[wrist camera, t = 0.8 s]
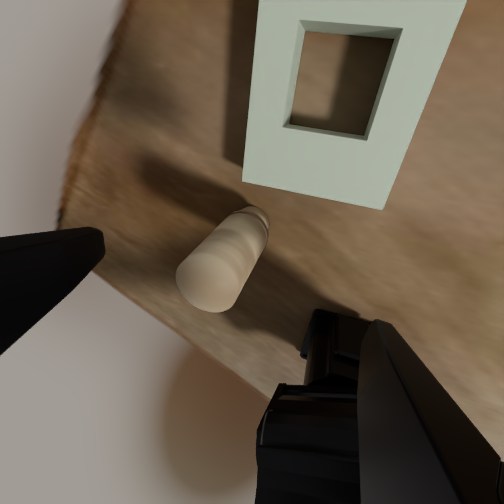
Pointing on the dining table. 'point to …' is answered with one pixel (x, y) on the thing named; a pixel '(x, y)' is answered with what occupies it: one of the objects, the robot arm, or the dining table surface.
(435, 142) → the dining table surface
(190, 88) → the dining table surface
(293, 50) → the board
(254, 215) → the peg
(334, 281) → the dining table surface
